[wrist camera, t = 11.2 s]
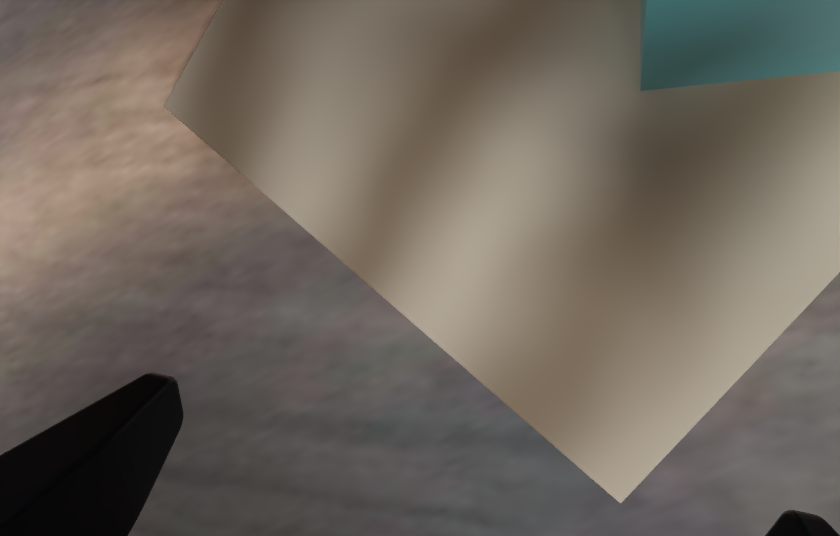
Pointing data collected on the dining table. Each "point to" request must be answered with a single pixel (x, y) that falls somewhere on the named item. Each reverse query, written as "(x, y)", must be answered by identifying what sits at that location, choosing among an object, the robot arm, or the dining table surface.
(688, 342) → the thin wavy beige sheet
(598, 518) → the dining table surface
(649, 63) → the upright teal box
